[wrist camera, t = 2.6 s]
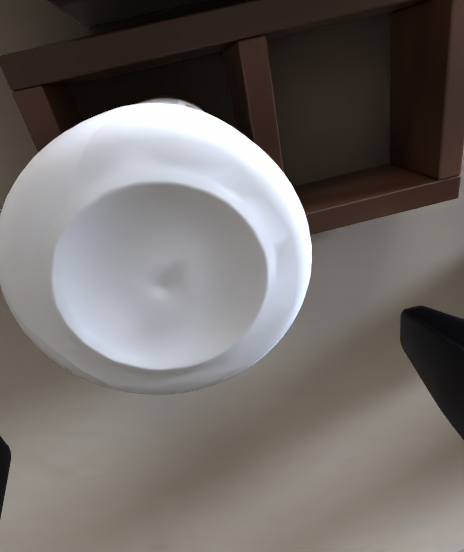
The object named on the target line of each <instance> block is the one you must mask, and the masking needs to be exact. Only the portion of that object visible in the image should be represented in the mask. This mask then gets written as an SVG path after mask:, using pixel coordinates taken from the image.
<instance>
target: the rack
mask: <svg viewBox="0 0 464 552" xmlns="http://www.w3.org/2000/svg"><path fill="white" fill-rule="evenodd" d="M390 12H392V14H391V81H390V164H386V165H382V166H378V167H374V168H370V169H366V170H362V171H358V172H353V173H349V174H345V175H341V176H337V177H333V178H329V179H325V180H321V181H317V182H312V183H308V184H304V185H300V186H296V187H293V188H294V190H295V192H296V194H297V196H298V198H299V200H300V202H301V205H302V207H303V209H304V212H305V215H306V219H307V222H308V226H309V233H310V235H311V234H315V233H319V232H323V231H327V230H331V229H335V228H339V227H343V226H347V225H351V224H355V223H359V222H364V221H368V220H372V219H376V218H380V217H384V216H388V215H392V214H396V213H400V212H404V211H408V210H412V209H416V208H420V207H424V206H428V205H432V204H436V203H440V202H444V201H448V200H452V199H456V198H458V196H459V186H460V176H459V175H460V174H461V164H462V155H463V145H464V0H248V1H243V2H239V3H234V4H230V5H225V6H221V7H216V8H212V9H207V10H203V11H198V12H194V13H189V14H185V15H180V16H176V17H171V18H167V19H163V20H158V21H154V22H149V23H145V24H140V25H136V26H131V27H127V28H122V29H118V30H113V31H109V32H104V33H100V34H95V35H91V36H86V37H82V38H77V39H73V40H68V41H64V42H60V43H55V44H51V45H46V46H42V47H37V48H33V49H28V50H24V51H19V52H15V53H10V54H6V55H1V56H0V66H1V68H2V71H3V73H4V75H5V77H6V80H7V82H8V84H9V86H10V89H11V90H12V91H14V92H12V94H13V96H14V99H15V101H16V103H17V105H18V108H19V110H20V112H21V114H22V117H23V119H24V121H25V123H26V126H27V128H28V130H29V132H30V135H31V137H32V139H33V141H34V144H35V146H36V148H37V150H38V153H39V152H40V151H41V150H42V149H43V148H44V147H45V146H46V145H48V144H49V143H50V142H51V141H52V140H54V139H55V138H57V137H58V136H59V135H61V134H62V133H64V132H65V131H67V130H69V129H71V128H72V127H74V126H76V125H78V124H79V123H81V122H83V121H84V119H83V116H82V114H81V111H80V108H79V106H78V103H77V100H76V97H75V95H74V92H73V89H72V87H71V86H70V85H75V84H79V83H83V82H88V81H92V80H97V79H101V78H105V77H110V76H114V75H119V74H123V73H127V72H132V71H136V70H140V69H145V68H149V67H154V66H158V65H162V64H167V63H171V62H176V61H180V60H184V59H189V58H193V57H198V56H202V55H206V54H211V53H215V52H219V51H223V57H224V62H225V68H226V73H227V79H228V84H229V90H230V95H231V101H232V106H233V112H234V117H235V123H236V128H237V130H238V131H239V132H240V133H242V134H243V135H245V136H246V137H247V138H248V139H250V140H251V141H252V142H253V143H255V144H256V145H257V146H258V147H259V148H261V149H262V150H263V151H264V152H265V153H266V154H267V155H268V156H269V157H270V158H271V159H272V160H273V161H274V162H275V163H276V164H277V166H278V167H279V168H280V169H281V170H282V172H283V173H284V169H283V161H282V153H281V145H280V138H279V130H278V122H277V115H276V107H275V99H274V91H273V84H272V76H271V68H270V61H269V53H268V45H267V41H268V40H272V39H276V38H281V37H285V36H290V35H294V34H298V33H303V32H307V31H312V30H316V29H320V28H325V27H329V26H333V25H338V24H342V23H347V22H351V21H355V20H360V19H364V18H369V17H373V16H377V15H382V14H386V13H390Z"/></svg>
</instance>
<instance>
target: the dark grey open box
mask: <svg viewBox="0 0 464 552" xmlns="http://www.w3.org/2000/svg"><path fill="white" fill-rule="evenodd" d="M47 1H49V2H50V3H51V4H53V5H54V6H56V7H57V8H59V9H60V10H61V11H63V12H64V13H66V14H67V15H69V16H70V17H72V18H73V19H74V20H76V21H77V22H79V23H80V24H82V25H83V26H85V27H89V26H94V25H98V24H103V23H107V22H112V21H116V20H121V19H125V18H130V17H134V16H139V15H143V14H148V13H152V12H157V11H161V10H166V9H170V8H175V7H179V6H184V5H188V4H193V3H197V2H202V1H206V0H47Z"/></svg>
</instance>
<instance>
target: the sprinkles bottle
mask: <svg viewBox="0 0 464 552" xmlns="http://www.w3.org/2000/svg"><path fill="white" fill-rule="evenodd" d="M311 253H312V245H311V239H310V233H309V226H308V222H307V219H306V215H305V212H304V209H303V207H302V205H301V202H300V200H299V198H298V196H297V194H296V192H295V190H294V188H293V186H292V185H291V183H290V181H289V180H288V179H287V177H286V176H285V174H284V173H283V172H282V170H281V169H280V168H279V167H278V166H277V164H276V163H275V162H274V161H273V160H272V159H271V158H270V157H269V156H268V155H267V154H266V153H265V152H264V151H263V150H262V149H261V148H259V147H258V146H257V145H256V144H255V143H253V142H252V141H251V140H250V139H248V138H247V137H246V136H245V135H243V134H242V133H240V132H239V131H238V130H236V129H235V128H233V127H232V126H230V125H228V124H227V123H225V122H223V121H221V120H220V119H218V118H216V117H214V116H212V115H210V114H207V113H205V112H204V111H203V110H202V109H201V108H200V107H199V106H197V105H196V104H194V103H192V102H191V101H189V100H188V99H185V98H182V97H179V96H175V95H156V96H153V97H151V98H148V99H145V100H143V101H141V102H139V103H138V104H133V105H128V106H123V107H119V108H116V109H112V110H109V111H107V112H104V113H101V114H99V115H97V116H94V117H92V118H90V119H87V120H85V121H83V122H81V123H79V124H78V125H76V126H74V127H72V128H71V129H69V130H67V131H65V132H64V133H62V134H61V135H59V136H58V137H57V138H55V139H54V140H52V141H51V142H50V143H49V144H48V145H46V146H45V147H44V148H43V149H42V150H41V151H40V152H39V153H37V154H36V155H35V156H34V158H33V159H32V160H31V161H30V162H29V163H28V165H27V166H26V167H25V168H24V170H23V171H22V172H21V173H20V175H19V176H18V178H17V179H16V181H15V183H14V185H13V186H12V188H11V190H10V192H9V194H8V195H7V197H6V200H5V203H4V206H3V209H2V212H1V215H0V285H1V289H2V293H3V295H4V298H5V301H6V303H7V305H8V307H9V309H10V311H11V312H12V314H13V316H14V318H15V320H16V321H17V323H18V324H19V325H20V327H21V328H22V330H23V331H24V333H25V334H26V335H27V336H28V337H29V338H30V340H31V341H32V342H33V343H34V344H35V345H36V346H37V347H38V348H39V349H40V350H41V351H42V352H43V353H45V354H46V355H47V356H48V357H49V358H50V359H52V360H53V361H54V362H56V363H57V364H59V365H60V366H62V367H64V368H65V369H67V370H68V371H70V372H72V373H73V374H75V375H77V376H79V377H81V378H83V379H85V380H88V381H90V382H93V383H95V384H98V385H100V386H103V387H107V388H111V389H115V390H119V391H124V392H131V393H139V394H151V395H162V394H175V393H184V392H189V391H194V390H199V389H202V388H205V387H209V386H212V385H215V384H217V383H220V382H222V381H224V380H227V379H229V378H231V377H233V376H235V375H237V374H239V373H240V372H242V371H244V370H246V369H247V368H249V367H250V366H252V365H253V364H255V363H256V362H257V361H259V360H260V359H262V358H263V357H264V356H265V355H266V354H267V353H268V352H269V351H270V350H271V349H272V348H273V347H274V346H275V345H276V344H277V343H278V342H279V341H280V339H281V338H282V337H283V336H284V334H285V333H286V332H287V330H288V329H289V328H290V326H291V325H292V323H293V321H294V319H295V318H296V316H297V314H298V312H299V310H300V308H301V306H302V303H303V300H304V297H305V294H306V291H307V287H308V284H309V279H310V274H311V262H312V256H311Z"/></svg>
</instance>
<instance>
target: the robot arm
mask: <svg viewBox="0 0 464 552" xmlns="http://www.w3.org/2000/svg"><path fill="white" fill-rule="evenodd" d="M400 341H401V345H402V348H403V350H404V352H405V353H406V355H407V356H408V358H409V360H410V361H411V363H412V365H413V366H414V368H415V369H416V371H417V373H418V374H419V376H420V378H421V379H422V381H423V382H424V384H425V386H426V387H427V389H428V391H429V392H430V394H431V395H432V397H433V399H434V400H435V402H436V403H437V405H438V406H439V408H440V410H441V411H442V412H443V414H444V415H445V416H446V418H447V419H448V421H449V422H450V423H451V424H452V426H453V427H454V428H455V430H456V431H457V432H458V434H459V435H460V436H461V437H462V439H463V440H464V319H461V318H458V317H455V316H452V315H449V314H446V313H443V312H440V311H437V310H434V309H431V308H428V307H425V306H415V307H411V308H408V309H405V310H403V311H402V313H401V319H400ZM10 462H11V451H10V448H9V446H8V445H7V444H6V442H5V441H4V440H3V439H2V437H1V436H0V518H1V512H2V507H3V501H4V496H5V490H6V484H7V479H8V473H9V468H10Z"/></svg>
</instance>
